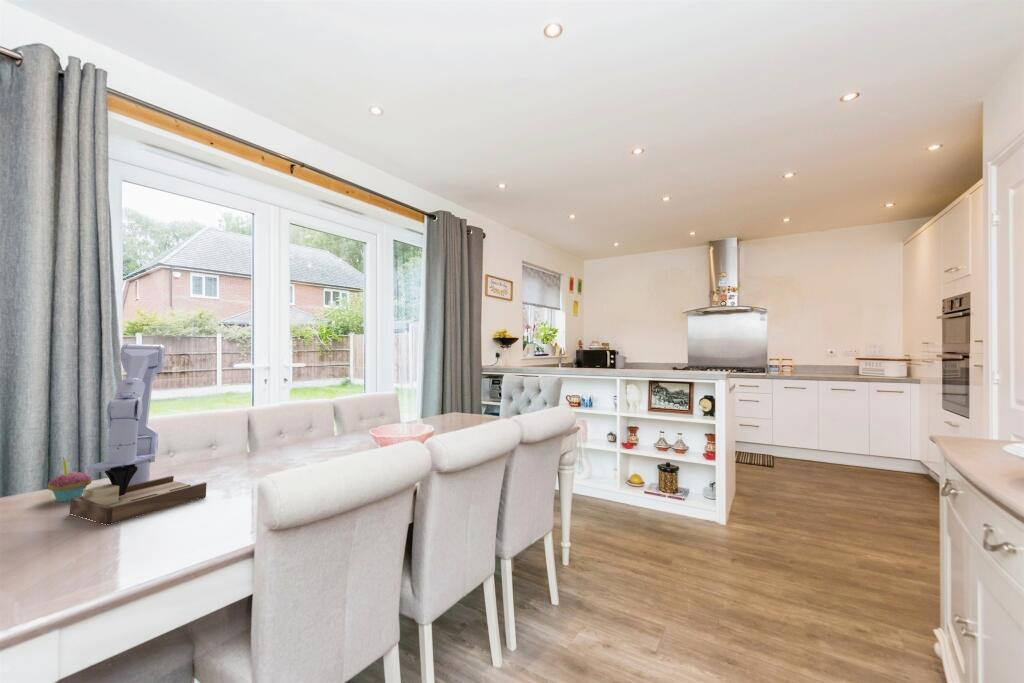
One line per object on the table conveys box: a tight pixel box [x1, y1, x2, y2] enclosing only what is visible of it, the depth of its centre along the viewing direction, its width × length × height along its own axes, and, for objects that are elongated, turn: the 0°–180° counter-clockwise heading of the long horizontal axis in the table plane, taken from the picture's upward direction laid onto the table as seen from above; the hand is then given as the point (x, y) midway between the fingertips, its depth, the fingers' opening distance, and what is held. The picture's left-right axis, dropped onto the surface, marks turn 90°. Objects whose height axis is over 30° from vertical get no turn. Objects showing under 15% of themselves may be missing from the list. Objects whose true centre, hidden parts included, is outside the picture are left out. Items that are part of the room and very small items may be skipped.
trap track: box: [69, 475, 208, 526], centre depth 114 cm, size 16×23×4 cm
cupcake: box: [47, 457, 93, 502], centre depth 117 cm, size 9×8×12 cm
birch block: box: [82, 483, 119, 505], centre depth 108 cm, size 5×5×4 cm
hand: (119, 494), depth 112 cm, fingers closed
